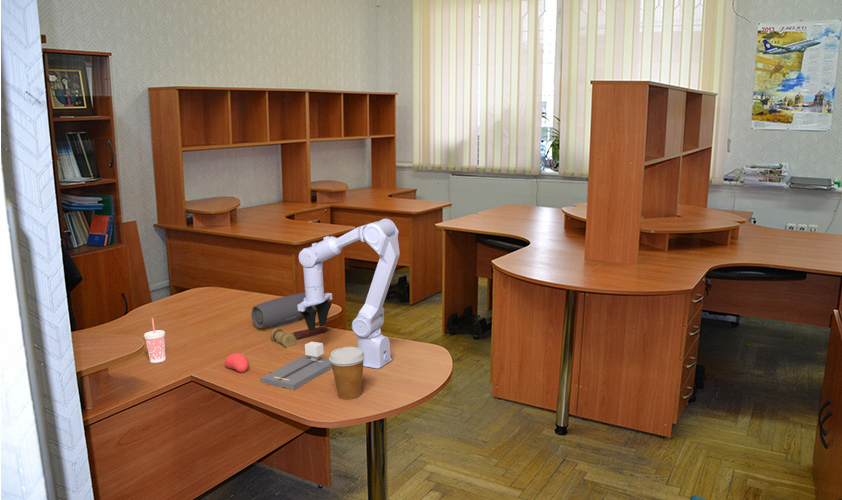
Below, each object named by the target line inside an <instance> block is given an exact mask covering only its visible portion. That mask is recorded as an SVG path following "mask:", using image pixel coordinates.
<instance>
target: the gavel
mask: <svg viewBox="0 0 842 500" xmlns="http://www.w3.org/2000/svg"><path fill="white" fill-rule="evenodd" d="M330 330H332V328H331V327H330V326H329V327H328V326H324V325H321V326H318V327H315V330H314V331H313V330H309V329H307V328H306V329H302V330H297V331H294V332H291V333H289V332H286V331H284V330H283V329H281V328H280V327H274V329H272V330H271V331H270V333H269V336H270V337H269V338H270V339H271V340H272V341H273V342H275V343H279V344H281V345H282V346H283V347H285V348H286V347H288V348H291V347H290V346H292V347H295V345H296V343H297V340H299V339H305V338H308V337H313V335H314V336H317V334H318V335H322V334H325V333H327V332H329V331H330ZM321 333H322V334H321Z"/></svg>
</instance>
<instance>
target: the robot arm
mask: <svg viewBox="0 0 842 500" xmlns="http://www.w3.org/2000/svg"><path fill="white" fill-rule="evenodd" d="M399 233H400V232H399V229H398V228H397V226H396V224H395V223H394V221H393V220H391V219H389V218H383V219H381V220H377V221H374V222H370V223H367V224H364V225H361V226H358V227H355V228H354V229H351V230H349V232H346V233H345V234H343V235H340V236H339V237H336V236H333V235H331V236H330V235H327V236H325V237H323V240H321V241H318V242H314V243H311V246H309V247H305V248H302V250H301V251H299V254H298V260H299V261H298V262H299V263H300V264H301V266H302V270H303V281H304V282H303V283H304V292H305V295H306V298H304V301H303V302H302V303H300V304H298V311H300V313H301V314H302V315H303V317H302V318H303V319H304V320H305V323H306V325H307V328H308V329H309V330H313V331H314V330H315V328H316V319H318V323H319V324H318V325H320V326H326V325H327V319H328V316H329V312H330V309H331V307H332V304H333V303H332V300H333V293H330V292H326V293H325V289H324V288H325V287H324V276H323V273H324V271H323V267H324V264H323V263H324V262H325V261H328V260H329V259H331V258H333V257H335V256H338V255H340V254H341V252H342V250H343V248H344V247H347V246H348V245H351V244H353V243H356V242H358V241H360V242H362V243H364V242H366V243H367V244H368V245H369V246H370V247H371V248H372V249H373V250H374V252H376V253H377V255H378V257H379V259H378V263H377V264H376V268H375V270H374V274H373V278H372V281H371V283H370V287H369V290H368V293H367V295H366V299H365V301H364V302H365V303H364V304H363V306H362V307H361V308H360V310H359V311H358V314H357V316H356V317H355V318H354V319H353V320H352V323H351V329H352V331H353V333H354V334H355V335H356V341H357V345H356V346H357V348H360V349H362V350H363V353H364V354H365V358H364V360H363V367H366V368H372V369H380V368H382V367H384V366H385V365H386V364H387V365H388V363H390V362H391V361H393V358H391V342H390V339H389V337H388V336H385V335H383V334H382V332H381V331H382V330H381V327H382V326H383V325H384V322H385V319H384V313H385V308H384V307H383V306H384V304H385V301H386V297H387V294H388V291H389V288H390V285H391V282H392V279H393V276H394V273H395V270H396V267H397V264H398V261H399V258H400V255H401V254H400V245H399V239H398V237H399ZM313 306H315V307H316V309H313V308H312V307H313Z"/></svg>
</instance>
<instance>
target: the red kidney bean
mask: <svg viewBox="0 0 842 500" xmlns="http://www.w3.org/2000/svg"><path fill="white" fill-rule="evenodd" d="M249 364H250V363H249V360H248V358H247V357H246V356H245V355H244V354H243V353H239V352H235V353H231V354H229V355H227V356H226V358H225V360H224V365H225V367H226V368H228V369H231V370H235V371H237V372H238V373H242V372H243V373H245V372H246V371H248V369H249Z"/></svg>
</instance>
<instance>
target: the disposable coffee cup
mask: <svg viewBox="0 0 842 500" xmlns="http://www.w3.org/2000/svg"><path fill="white" fill-rule="evenodd" d="M364 358H365V354H364V353H363V350H362V349H360V348H358V346H357V347H356V346H343V347H339V348H336V349H334V350H332V351H331V352H330V356H329V357H328V359H329V360H330V362H331V364H332V368H331V369H332V372H333V373H332V374H333V378H334V383H335V387H336V392H337V396H338V398H340V399H342V400H354V399H357V398H359V397H360V396H362V387H363V375H364V374H363V373H364V366H363V360H364Z"/></svg>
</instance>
